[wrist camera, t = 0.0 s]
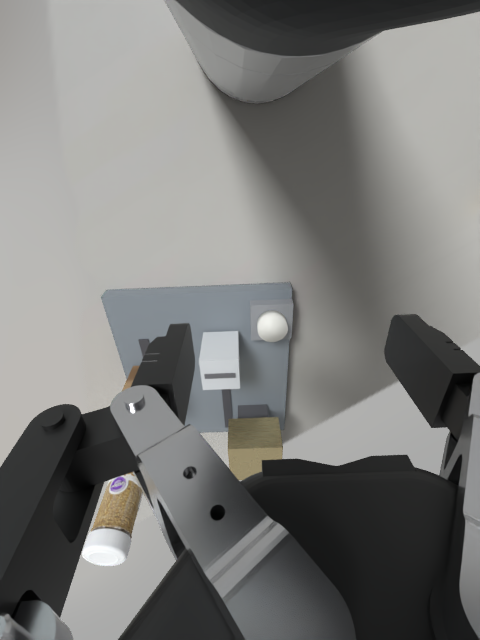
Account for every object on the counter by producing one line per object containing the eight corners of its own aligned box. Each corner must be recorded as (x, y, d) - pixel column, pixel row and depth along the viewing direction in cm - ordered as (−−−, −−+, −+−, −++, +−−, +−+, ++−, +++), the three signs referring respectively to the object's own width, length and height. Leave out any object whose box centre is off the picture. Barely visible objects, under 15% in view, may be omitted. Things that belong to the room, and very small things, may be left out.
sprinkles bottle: (144, 430, 41) (109, 545, 30) (161, 449, 44) (134, 563, 32) (115, 438, 42) (70, 553, 31) (133, 457, 44) (98, 570, 33)
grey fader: (203, 332, 31) (198, 362, 27) (238, 330, 31) (238, 360, 27) (206, 359, 33) (202, 391, 29) (239, 358, 33) (240, 389, 29)
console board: (106, 289, 30) (87, 314, 26) (289, 282, 30) (298, 306, 26) (147, 424, 41) (137, 457, 37) (282, 420, 41) (287, 451, 37)
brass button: (228, 418, 34) (227, 449, 31) (278, 417, 34) (282, 447, 31) (231, 449, 37) (230, 480, 34) (276, 448, 37) (280, 478, 34)
